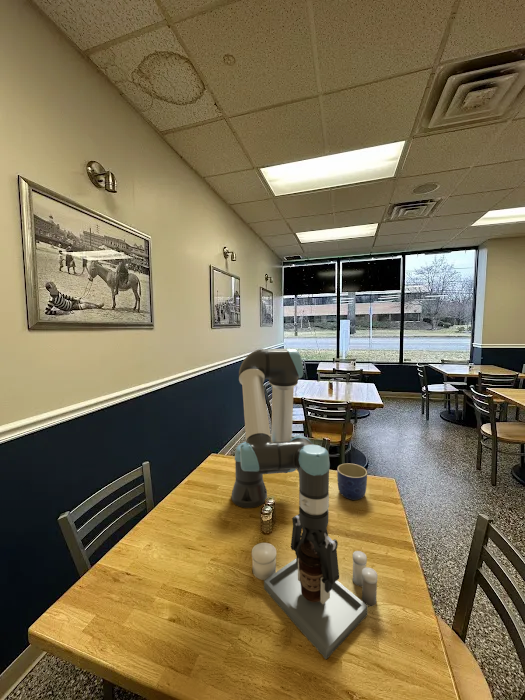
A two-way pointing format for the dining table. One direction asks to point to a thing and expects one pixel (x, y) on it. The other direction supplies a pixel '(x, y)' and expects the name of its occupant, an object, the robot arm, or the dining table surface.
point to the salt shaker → (358, 566)
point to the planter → (352, 481)
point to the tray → (316, 609)
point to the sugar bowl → (264, 560)
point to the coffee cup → (310, 572)
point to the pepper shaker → (369, 586)
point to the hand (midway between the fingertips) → (313, 588)
